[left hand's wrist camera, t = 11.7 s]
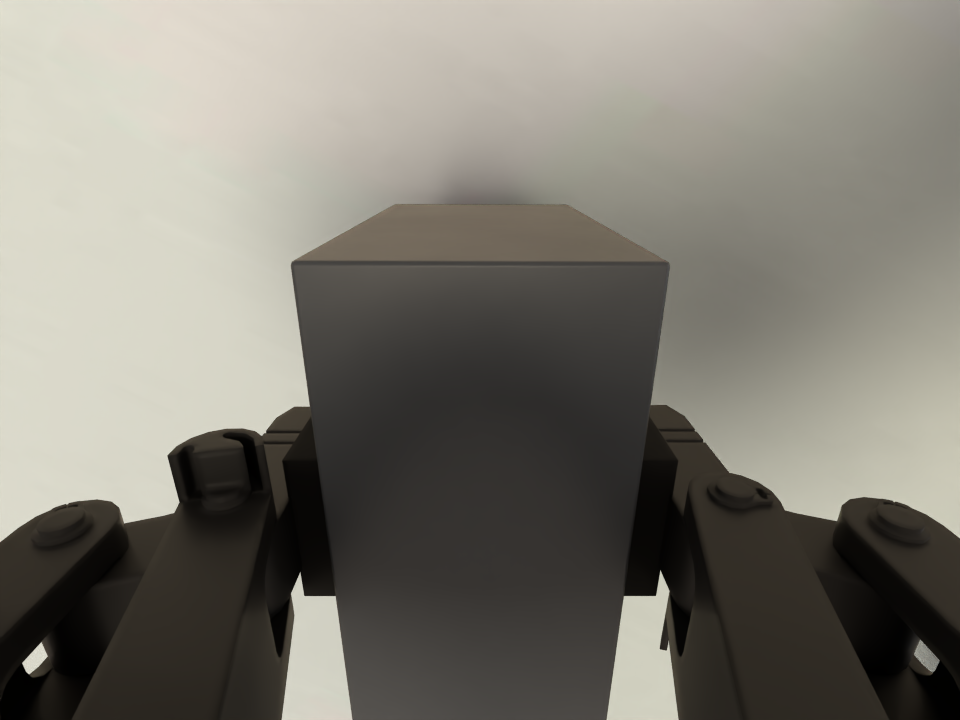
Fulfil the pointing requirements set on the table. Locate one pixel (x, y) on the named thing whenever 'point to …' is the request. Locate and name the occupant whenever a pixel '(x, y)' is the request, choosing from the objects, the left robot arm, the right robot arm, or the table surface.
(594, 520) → the beam
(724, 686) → the left robot arm
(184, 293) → the table surface
